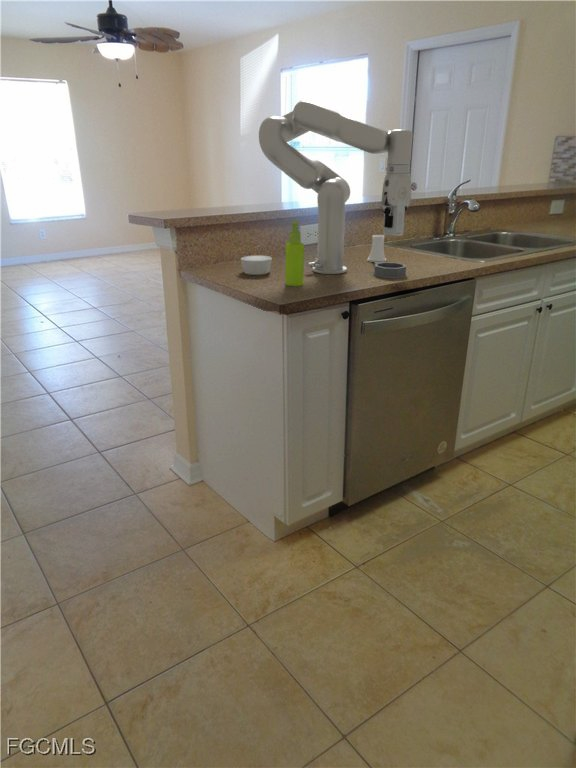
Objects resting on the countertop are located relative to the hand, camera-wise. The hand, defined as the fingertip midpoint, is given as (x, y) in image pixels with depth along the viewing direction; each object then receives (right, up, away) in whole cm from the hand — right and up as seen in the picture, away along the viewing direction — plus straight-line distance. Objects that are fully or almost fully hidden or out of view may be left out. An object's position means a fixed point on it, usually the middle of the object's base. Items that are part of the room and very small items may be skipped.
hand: (393, 226), depth 190 cm
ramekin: (-48, -14, +9) cm, 51 cm away
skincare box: (0, -3, +1) cm, 3 cm away
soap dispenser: (-34, -21, -7) cm, 41 cm away
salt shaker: (-1, -6, +30) cm, 30 cm away
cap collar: (0, -15, +7) cm, 17 cm away
